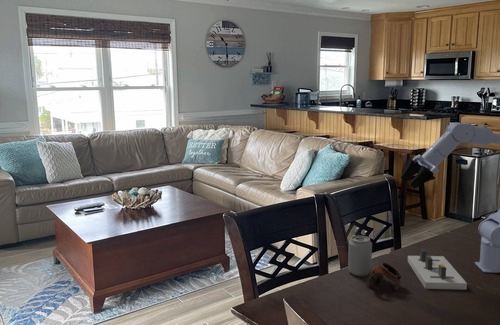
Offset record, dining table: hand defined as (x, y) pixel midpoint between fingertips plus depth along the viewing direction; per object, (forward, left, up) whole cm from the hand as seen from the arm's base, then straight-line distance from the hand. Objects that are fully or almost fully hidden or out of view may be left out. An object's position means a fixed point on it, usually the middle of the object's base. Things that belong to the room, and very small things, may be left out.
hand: (407, 183), depth 145 cm
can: (+15, +4, -30) cm, 34 cm away
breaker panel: (-9, +4, -29) cm, 31 cm away
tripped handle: (-9, +11, -27) cm, 31 cm away
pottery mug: (+10, +15, -30) cm, 35 cm away
